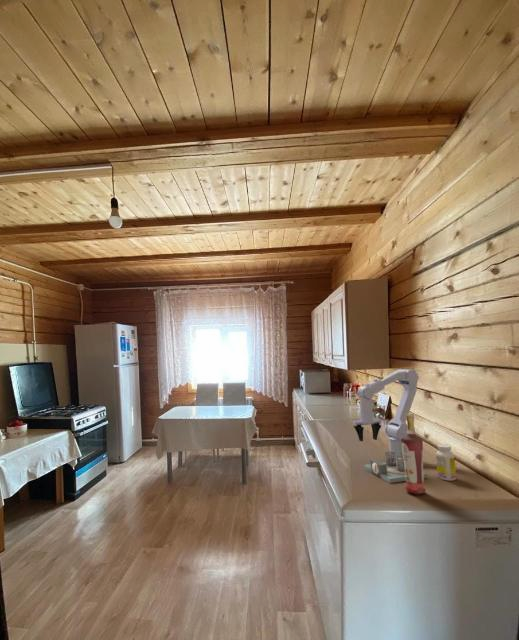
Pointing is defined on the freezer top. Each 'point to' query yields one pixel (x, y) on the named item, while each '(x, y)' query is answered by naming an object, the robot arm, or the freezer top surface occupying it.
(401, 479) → the scale
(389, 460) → the cylinder
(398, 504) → the freezer top surface
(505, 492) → the freezer top surface
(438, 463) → the supplement bottle
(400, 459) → the cylinder
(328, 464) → the freezer top surface
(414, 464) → the liquor
